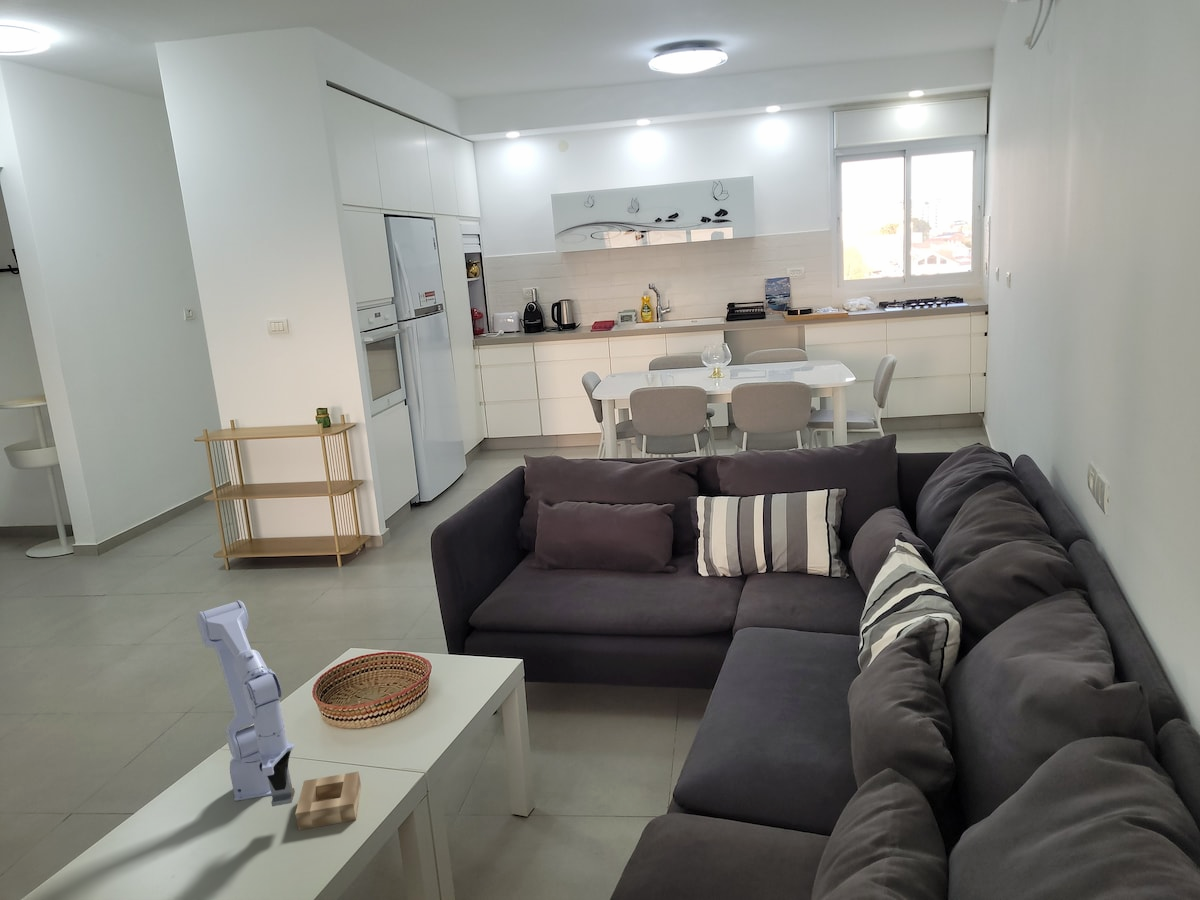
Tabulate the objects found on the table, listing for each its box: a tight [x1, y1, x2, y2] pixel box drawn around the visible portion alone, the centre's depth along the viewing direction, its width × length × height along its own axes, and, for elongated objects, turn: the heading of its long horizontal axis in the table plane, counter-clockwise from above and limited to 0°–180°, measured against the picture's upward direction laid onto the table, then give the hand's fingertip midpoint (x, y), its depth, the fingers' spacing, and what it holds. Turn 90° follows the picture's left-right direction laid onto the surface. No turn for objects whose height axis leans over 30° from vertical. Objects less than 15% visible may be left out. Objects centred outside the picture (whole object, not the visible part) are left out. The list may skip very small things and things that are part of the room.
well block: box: [294, 771, 362, 831], centre depth 195 cm, size 12×12×4 cm
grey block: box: [268, 766, 296, 807], centre depth 190 cm, size 4×4×7 cm
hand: (281, 786), depth 190 cm, fingers closed on grey block
